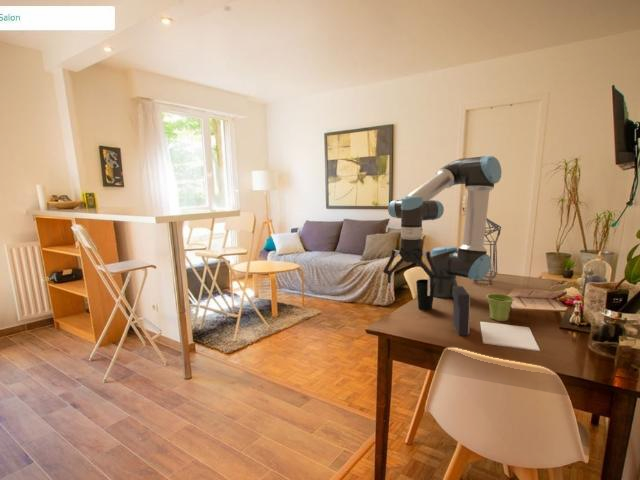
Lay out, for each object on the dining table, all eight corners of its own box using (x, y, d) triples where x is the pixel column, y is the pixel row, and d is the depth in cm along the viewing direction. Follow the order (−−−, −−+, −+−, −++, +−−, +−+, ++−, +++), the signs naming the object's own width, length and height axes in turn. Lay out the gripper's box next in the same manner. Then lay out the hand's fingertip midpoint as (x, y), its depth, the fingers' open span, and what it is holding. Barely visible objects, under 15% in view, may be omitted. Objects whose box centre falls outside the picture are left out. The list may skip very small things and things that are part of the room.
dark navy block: (470, 336, 114) (472, 295, 112) (457, 335, 115) (458, 294, 113) (463, 323, 125) (464, 286, 123) (451, 323, 126) (452, 285, 123)
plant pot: (487, 321, 126) (488, 300, 125) (484, 312, 135) (485, 292, 134) (514, 324, 123) (516, 302, 122) (509, 315, 132) (511, 294, 130)
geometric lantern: (497, 287, 168) (501, 219, 162) (464, 283, 176) (466, 218, 171) (499, 280, 181) (502, 216, 176) (468, 276, 189) (470, 216, 184)
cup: (434, 306, 144) (435, 279, 142) (434, 312, 137) (435, 284, 135) (416, 304, 147) (416, 278, 145) (415, 310, 139) (415, 283, 138)
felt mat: (480, 322, 125) (480, 321, 125) (528, 328, 119) (528, 327, 119) (483, 343, 109) (483, 341, 109) (539, 351, 103) (539, 349, 103)
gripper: (375, 238, 123) (375, 292, 126) (446, 240, 114) (444, 299, 117) (380, 235, 130) (379, 287, 133) (447, 237, 120) (445, 293, 124)
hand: (410, 292), depth 125 cm, fingers open, 13 cm apart
